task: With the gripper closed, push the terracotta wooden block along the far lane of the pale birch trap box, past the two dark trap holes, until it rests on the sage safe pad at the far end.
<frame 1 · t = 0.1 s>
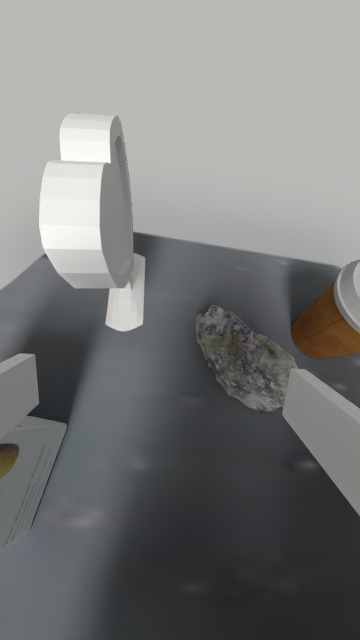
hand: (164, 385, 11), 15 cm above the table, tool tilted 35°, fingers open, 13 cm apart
disposable coffee cup: (312, 337, 29), on the table
supplement box: (10, 463, 21), on the table
heart sculpture: (127, 289, 31), on the table
mineral rock: (238, 361, 27), on the table
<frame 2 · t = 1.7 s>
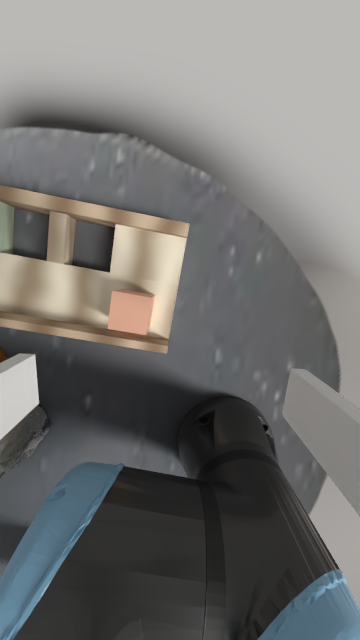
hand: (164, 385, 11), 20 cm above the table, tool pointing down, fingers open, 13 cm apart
terracotta block: (136, 308, 28), point 2 cm above the table, touching trap box
trap box: (71, 269, 29), on the table
mineral rock: (14, 427, 33), on the table
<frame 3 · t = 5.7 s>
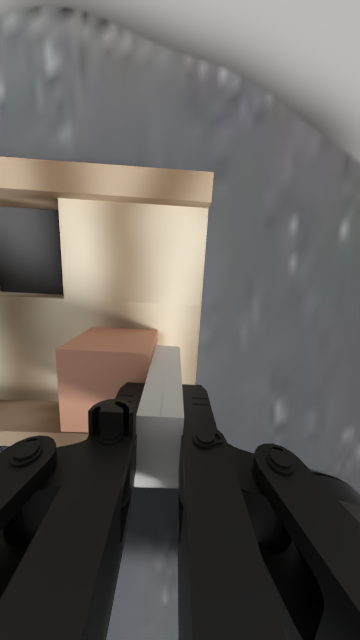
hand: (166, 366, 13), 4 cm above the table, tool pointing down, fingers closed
terracotta block: (125, 358, 14), point 3 cm above the table, touching gripper
trap box: (1, 298, 16), on the table
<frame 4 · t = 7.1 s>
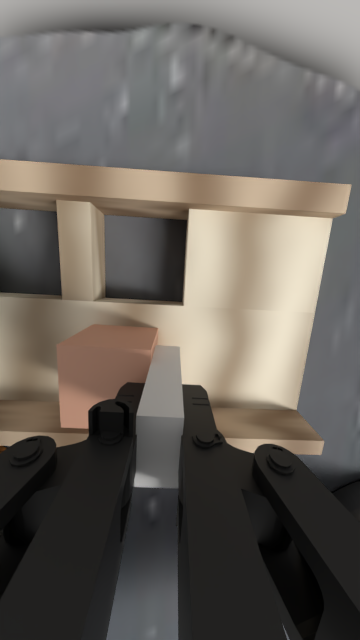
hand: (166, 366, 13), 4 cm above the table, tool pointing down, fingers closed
terracotta block: (125, 356, 14), point 3 cm above the table, touching trap box
trap box: (105, 304, 16), on the table
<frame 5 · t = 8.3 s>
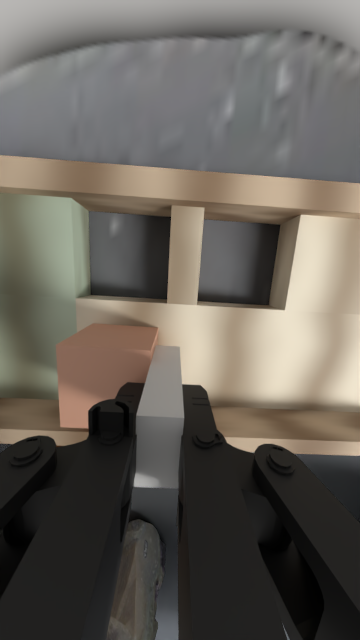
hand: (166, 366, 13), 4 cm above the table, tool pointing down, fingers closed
terracotta block: (125, 356, 14), point 3 cm above the table
trap box: (193, 307, 16), on the table
mineral rock: (106, 549, 22), on the table
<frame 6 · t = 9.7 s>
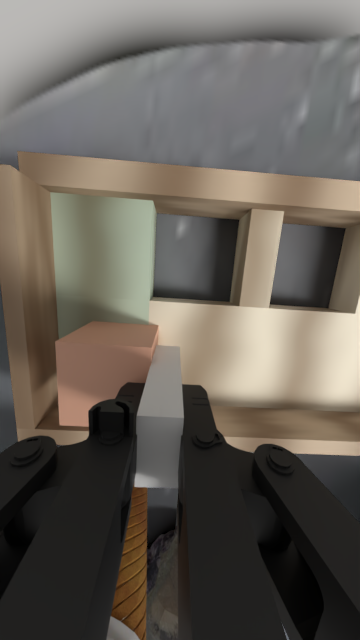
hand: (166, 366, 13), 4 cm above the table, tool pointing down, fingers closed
disposable coffee cup: (114, 468, 19), on the table
terracotta block: (125, 354, 14), point 3 cm above the table, touching gripper, trap box
trap box: (253, 309, 16), on the table
mineral rock: (150, 549, 22), on the table
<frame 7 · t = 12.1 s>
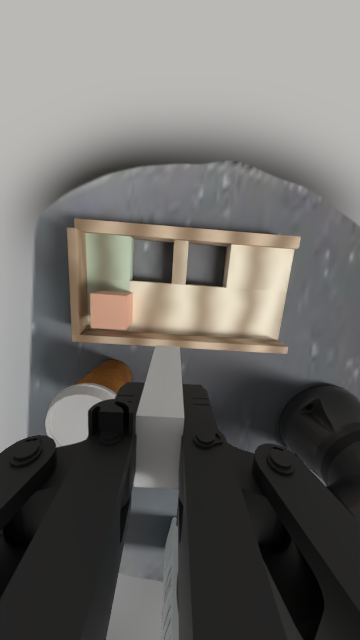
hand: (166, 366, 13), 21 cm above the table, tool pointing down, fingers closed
disposable coffee cup: (113, 376, 35), on the table
terracotta block: (117, 306, 30), point 2 cm above the table, touching trap box
trap box: (184, 287, 32), on the table
supplement box: (189, 533, 44), on the table
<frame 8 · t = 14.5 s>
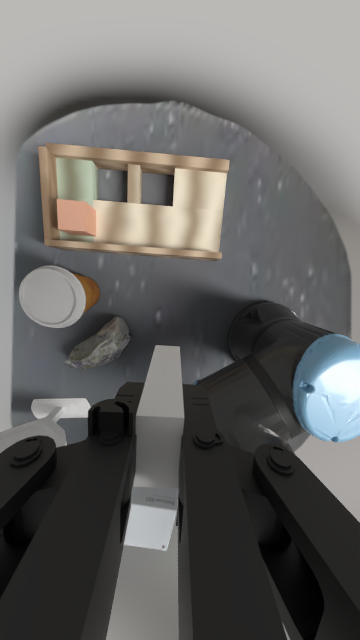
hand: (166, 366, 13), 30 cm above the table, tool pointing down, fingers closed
disposable coffee cup: (84, 292, 42), on the table
terracotta block: (83, 222, 37), point 2 cm above the table, touching trap box
trap box: (141, 211, 39), on the table
supplement box: (155, 444, 50), on the table
heart sculpture: (61, 407, 47), on the table
mineral rock: (103, 339, 44), on the table
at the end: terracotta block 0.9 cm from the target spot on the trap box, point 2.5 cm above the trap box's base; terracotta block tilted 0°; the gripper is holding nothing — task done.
